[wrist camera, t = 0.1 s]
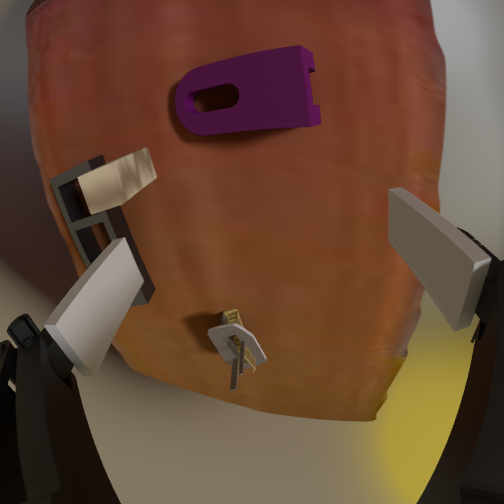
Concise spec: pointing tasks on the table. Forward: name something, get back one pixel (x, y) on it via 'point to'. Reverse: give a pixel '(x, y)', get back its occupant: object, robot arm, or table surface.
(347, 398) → the table surface
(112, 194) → the peg
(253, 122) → the mounting bracket
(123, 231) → the dark grey long frame
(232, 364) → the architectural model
